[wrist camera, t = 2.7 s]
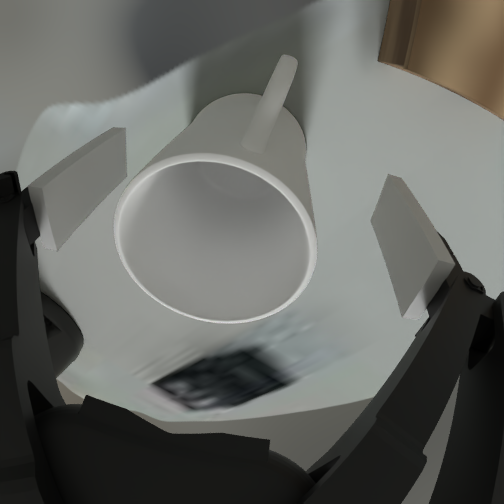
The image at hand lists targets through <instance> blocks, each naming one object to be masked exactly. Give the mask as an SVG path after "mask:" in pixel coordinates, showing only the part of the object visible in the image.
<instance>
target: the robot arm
mask: <svg viewBox="0 0 504 504" xmlns="http://www.w3.org/2000/svg"><path fill="white" fill-rule="evenodd" d="M126 177H127V162H126V128H115V127H113V128H111V129H110V130H108V131H106V132H105V133H103V134H101V135H100V136H98V137H96V138H95V139H93V140H92V141H90V142H89V143H87V144H85V145H84V146H82V147H81V148H79V149H78V150H76V151H75V152H73V153H72V154H70V155H69V156H67V157H66V158H65V159H63V160H62V161H60V162H59V163H58V164H56V165H55V166H53V167H52V168H51V169H49V170H48V171H47V172H45V173H44V174H43V175H41V176H40V177H39V178H37V179H36V180H35V181H33V182H32V183H31V184H30V185H28V187H26V188H25V189H24V190H23V191H22V192H21V188H20V183H19V178H18V174H17V172H16V171H8V172H4V173H1V174H0V504H401V503H402V501H403V500H404V499H405V497H406V496H407V494H408V492H409V491H410V490H411V488H412V486H413V485H414V483H415V482H416V480H417V479H418V477H419V475H420V474H421V472H422V470H423V468H424V466H425V464H426V462H427V457H426V456H425V455H424V454H423V449H424V447H425V445H426V443H427V441H428V440H429V438H430V436H431V434H432V432H433V430H434V429H435V427H436V425H437V423H438V421H439V419H440V417H441V415H442V413H443V411H444V409H445V407H446V404H447V402H448V400H449V398H450V396H451V393H452V391H453V389H454V387H455V384H456V382H457V380H458V377H459V375H460V379H459V387H458V393H457V399H456V405H455V410H454V416H453V421H452V426H451V430H450V434H449V439H448V443H447V447H446V451H445V455H444V458H443V462H442V465H441V469H440V472H439V475H438V478H437V482H436V485H435V488H434V491H433V493H432V496H431V499H430V502H429V504H504V292H501V293H500V295H499V296H498V297H497V299H496V300H494V299H492V298H490V297H488V296H486V290H485V288H484V286H483V284H482V283H481V282H480V281H479V280H478V279H477V278H476V277H475V276H474V275H472V274H470V273H468V272H463V270H462V268H461V266H460V264H459V262H458V261H457V259H456V257H455V255H453V252H452V250H451V249H450V247H449V245H448V243H447V242H446V240H445V239H444V238H443V237H442V236H441V235H440V234H439V233H438V232H437V231H436V229H435V228H434V226H433V225H432V223H431V221H430V220H429V218H428V217H427V215H426V213H425V212H424V210H423V209H422V207H421V206H420V204H419V203H418V201H417V200H416V198H415V197H414V195H413V194H412V192H411V191H410V190H409V188H408V187H407V185H406V184H405V182H404V181H403V180H402V178H400V177H396V176H393V175H389V174H388V176H387V179H386V181H385V184H384V187H383V190H382V192H381V195H380V198H379V200H378V203H377V205H376V208H375V210H374V213H373V216H372V218H371V223H372V226H373V228H374V231H375V234H376V237H377V239H378V242H379V245H380V248H381V251H382V254H383V257H384V260H385V263H386V266H387V269H388V272H389V275H390V278H391V281H392V285H393V288H394V291H395V294H396V298H397V301H398V305H399V308H400V312H401V315H402V318H409V319H417V320H419V318H420V317H421V316H422V314H423V313H424V311H425V310H426V309H427V311H428V314H429V318H428V319H427V320H426V322H425V323H424V324H423V326H422V327H421V328H420V330H419V331H418V332H417V333H416V335H415V337H416V338H415V339H414V341H413V343H412V344H411V346H410V347H409V349H408V350H407V352H406V353H405V355H404V356H403V358H402V359H401V361H400V362H399V364H398V365H397V367H396V368H395V369H394V371H393V372H392V374H391V375H390V377H389V378H388V379H387V381H386V382H385V383H384V385H383V386H382V387H381V389H380V390H379V391H378V393H377V394H376V395H375V397H374V398H373V400H372V401H371V402H370V403H369V404H368V406H367V407H366V408H365V410H364V411H363V412H362V413H361V414H360V416H359V417H358V418H357V419H356V420H355V422H354V423H353V424H352V425H351V426H350V427H349V429H348V430H347V431H346V432H345V433H344V434H343V436H342V437H341V438H340V439H339V440H338V441H337V442H336V443H335V444H334V446H333V447H332V448H331V449H330V450H329V451H328V452H327V453H326V454H325V455H323V456H322V457H321V458H320V459H319V460H318V461H317V462H315V463H314V464H313V465H312V466H311V467H310V468H309V469H308V470H307V471H306V472H305V471H304V470H303V469H302V468H301V467H299V466H298V465H297V464H296V463H294V462H293V461H291V460H290V459H288V458H286V457H285V456H282V455H281V454H279V453H276V452H274V451H271V450H269V445H270V440H267V439H259V438H252V437H245V436H238V435H232V434H226V433H207V434H206V433H205V434H172V433H168V432H166V431H164V430H162V429H160V428H158V427H156V426H155V425H153V424H151V423H149V422H147V421H146V420H144V419H142V418H141V417H139V416H137V415H135V414H134V413H132V412H131V411H129V410H127V409H125V408H122V407H119V406H116V405H113V404H110V403H107V402H105V401H102V400H99V399H96V398H94V397H91V396H88V395H86V396H85V399H84V401H83V404H68V405H66V404H65V402H64V400H63V398H62V396H61V394H60V391H59V388H58V385H57V381H56V378H57V377H58V376H59V375H60V374H61V373H62V372H63V371H64V370H65V369H66V368H67V367H68V366H69V365H70V364H71V363H72V362H73V361H74V360H75V359H76V358H77V357H78V355H79V353H80V351H81V349H82V347H83V343H84V342H83V337H82V334H81V332H80V330H79V329H78V327H77V325H76V324H75V323H74V321H73V320H72V319H71V318H70V317H69V315H68V314H67V313H66V312H65V311H64V310H63V309H62V308H61V307H59V306H58V305H57V304H56V303H55V302H54V301H52V300H51V299H50V298H48V297H47V296H45V295H44V294H42V293H41V292H40V284H39V272H38V258H37V247H36V244H35V240H36V239H37V238H38V237H39V236H40V237H41V241H42V244H43V247H44V248H46V249H50V250H54V251H58V250H59V249H60V248H61V247H62V245H63V244H64V243H65V242H66V241H67V240H68V238H69V237H70V236H71V235H72V234H73V233H74V231H75V230H76V229H77V228H78V227H79V226H80V225H81V224H82V222H83V221H84V220H85V219H86V218H87V217H88V216H89V215H90V214H91V213H92V212H93V211H94V209H95V208H96V207H97V206H98V205H99V204H100V203H101V202H102V201H103V200H104V199H105V198H106V197H107V196H108V195H109V194H110V193H111V192H112V191H113V190H114V189H115V188H116V187H117V186H118V185H119V184H120V183H121V182H122V181H123V180H124V179H125V178H126Z"/></svg>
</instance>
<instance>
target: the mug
mask: <svg viewBox="0 0 504 504" xmlns="http://www.w3.org/2000/svg"><path fill="white" fill-rule="evenodd" d="M297 66H298V61H297V60H296V59H295V58H294V57H292V56H290V55H282V56H281V57H280V59H279V61H278V63H277V65H276V67H275V70H274V72H273V74H272V76H271V78H270V80H269V82H268V85H267V87H266V89H265V91H264V93H263V96H261V95H257V94H250V93H238V94H232V95H227V96H224V97H221V98H219V99H217V100H215V101H213V102H211V103H210V104H208V105H207V106H206V107H205V108H203V109H202V110H201V111H200V112H199V114H198V115H197V116H196V117H195V119H194V120H193V122H192V123H191V124H190V125H189V126H188V127H187V128H186V129H184V130H183V131H182V132H181V133H180V134H179V135H178V136H177V137H175V138H174V139H173V140H172V141H171V142H170V143H169V144H168V145H167V146H166V147H165V148H164V149H162V150H161V151H160V152H159V153H158V154H157V155H156V156H155V157H154V158H153V159H152V160H151V161H150V162H149V163H148V164H147V165H146V166H145V167H144V168H143V169H142V170H141V171H140V172H139V173H138V174H137V175H136V176H135V177H134V178H133V179H132V180H131V182H130V183H129V184H128V185H127V187H126V188H125V190H124V191H123V193H122V195H121V197H120V199H119V201H118V204H117V207H116V211H115V216H114V239H115V244H116V248H117V251H118V254H119V256H120V259H121V261H122V263H123V265H124V267H125V268H126V270H127V271H128V273H129V274H130V276H131V277H132V278H133V280H134V281H135V282H136V283H137V284H138V285H139V286H140V287H141V288H142V289H143V290H144V291H145V292H146V293H147V294H148V295H149V296H151V297H152V298H153V299H155V300H156V301H158V302H159V303H161V304H162V305H164V306H166V307H167V308H169V309H171V310H173V311H175V312H177V313H180V314H182V315H185V316H188V317H191V318H194V319H198V320H202V321H207V322H214V323H243V322H250V321H254V320H258V319H262V318H265V317H268V316H270V315H272V314H275V313H277V312H278V311H280V310H282V309H284V308H285V307H287V306H288V305H289V304H291V303H292V302H293V301H294V300H295V299H296V298H297V297H298V296H299V295H300V294H301V293H302V292H303V290H304V289H305V288H306V286H307V285H308V283H309V281H310V279H311V277H312V275H313V272H314V269H315V265H316V260H317V235H316V228H315V220H314V213H313V207H312V200H311V193H310V187H309V181H308V175H307V169H306V163H305V161H306V142H305V137H304V134H303V131H302V129H301V127H300V125H299V123H298V122H297V120H296V119H295V117H294V116H293V115H292V114H291V113H290V112H289V111H288V110H287V109H286V108H285V107H284V106H283V104H284V101H285V99H286V96H287V94H288V91H289V89H290V86H291V84H292V81H293V79H294V76H295V73H296V70H297Z"/></svg>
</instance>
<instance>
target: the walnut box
mask: <svg viewBox="0 0 504 504" xmlns="http://www.w3.org/2000/svg"><path fill="white" fill-rule="evenodd" d="M378 61H379V62H382V63H385V64H388V65H390V66H393V67H396V68H399V69H401V70H404V71H406V72H409V73H411V74H414V75H416V76H419V77H421V78H424V79H426V80H428V81H430V82H433V83H435V84H437V85H439V86H441V87H444V88H446V89H448V90H450V91H452V92H454V93H456V94H458V95H460V96H462V97H464V98H466V99H468V100H470V101H471V102H473V103H475V104H477V105H479V106H481V107H482V108H484V109H486V110H488V111H489V112H491V113H493V114H494V115H496V116H498V117H499V118H501V119H503V120H504V0H390V5H389V10H388V15H387V20H386V25H385V30H384V35H383V40H382V44H381V49H380V53H379V58H378Z"/></svg>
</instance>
